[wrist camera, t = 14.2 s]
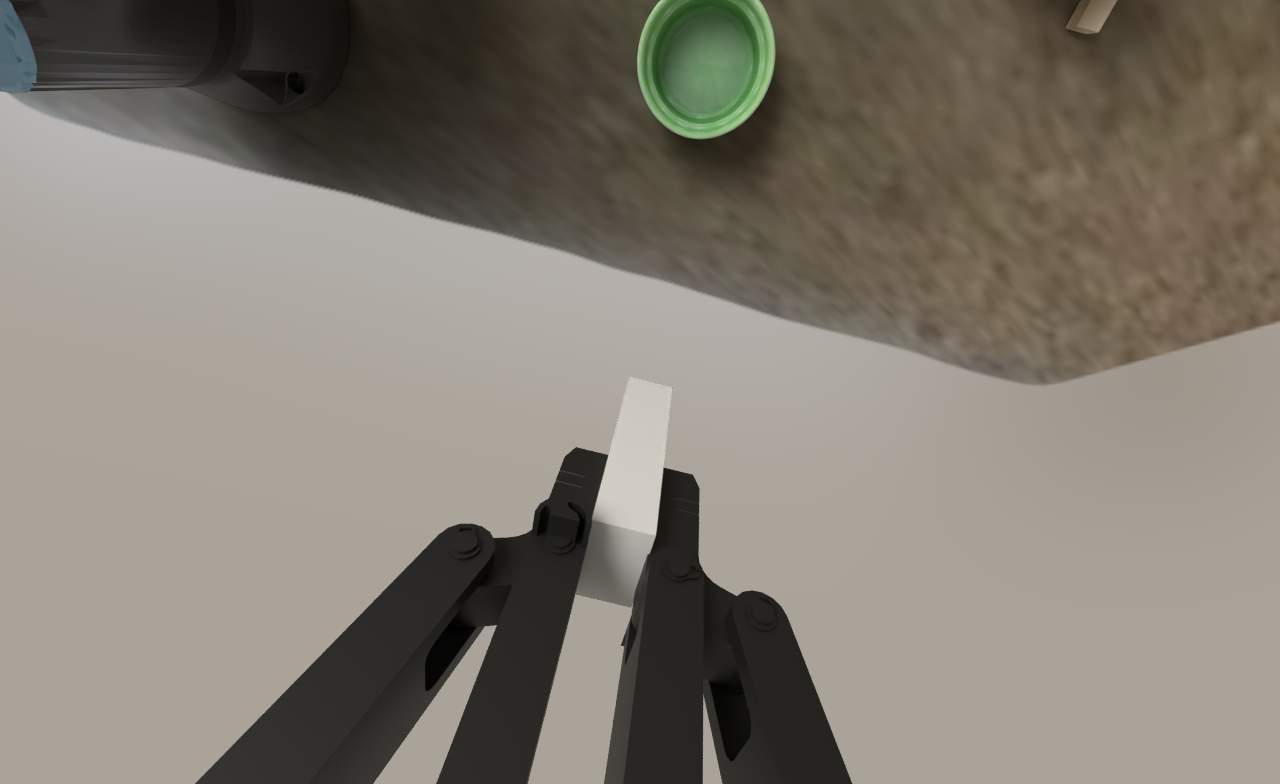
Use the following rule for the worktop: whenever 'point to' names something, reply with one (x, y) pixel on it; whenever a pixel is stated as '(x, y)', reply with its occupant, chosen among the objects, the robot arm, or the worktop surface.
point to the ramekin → (705, 64)
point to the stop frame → (1090, 15)
